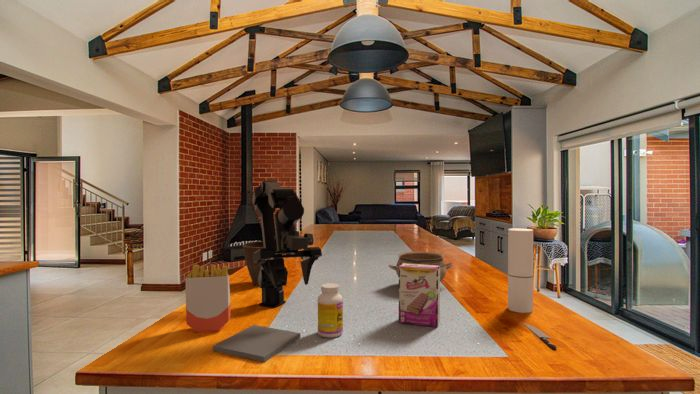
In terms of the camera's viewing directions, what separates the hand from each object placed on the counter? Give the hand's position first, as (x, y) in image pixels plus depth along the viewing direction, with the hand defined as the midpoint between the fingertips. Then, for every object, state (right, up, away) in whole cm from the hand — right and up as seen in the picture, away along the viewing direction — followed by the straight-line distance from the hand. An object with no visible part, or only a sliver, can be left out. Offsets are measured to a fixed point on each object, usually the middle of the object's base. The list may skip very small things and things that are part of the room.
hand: (291, 285), depth 104 cm
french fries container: (-23, -12, +1) cm, 26 cm away
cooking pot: (+43, -11, +43) cm, 62 cm away
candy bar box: (+36, -12, +5) cm, 38 cm away
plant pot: (-19, -11, +50) cm, 55 cm away
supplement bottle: (+11, -12, -3) cm, 17 cm away
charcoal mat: (-7, -12, -9) cm, 17 cm away
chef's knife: (+66, -12, -5) cm, 67 cm away
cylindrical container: (+69, -11, +16) cm, 72 cm away
